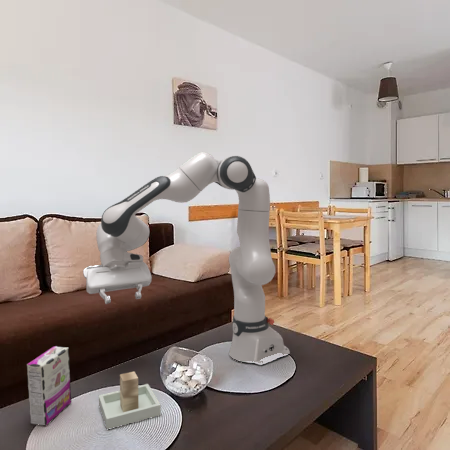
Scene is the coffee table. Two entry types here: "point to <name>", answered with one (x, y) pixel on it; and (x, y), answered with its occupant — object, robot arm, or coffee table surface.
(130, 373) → the maple block
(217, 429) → the coffee table surface
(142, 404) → the tray
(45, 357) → the candy bar box
